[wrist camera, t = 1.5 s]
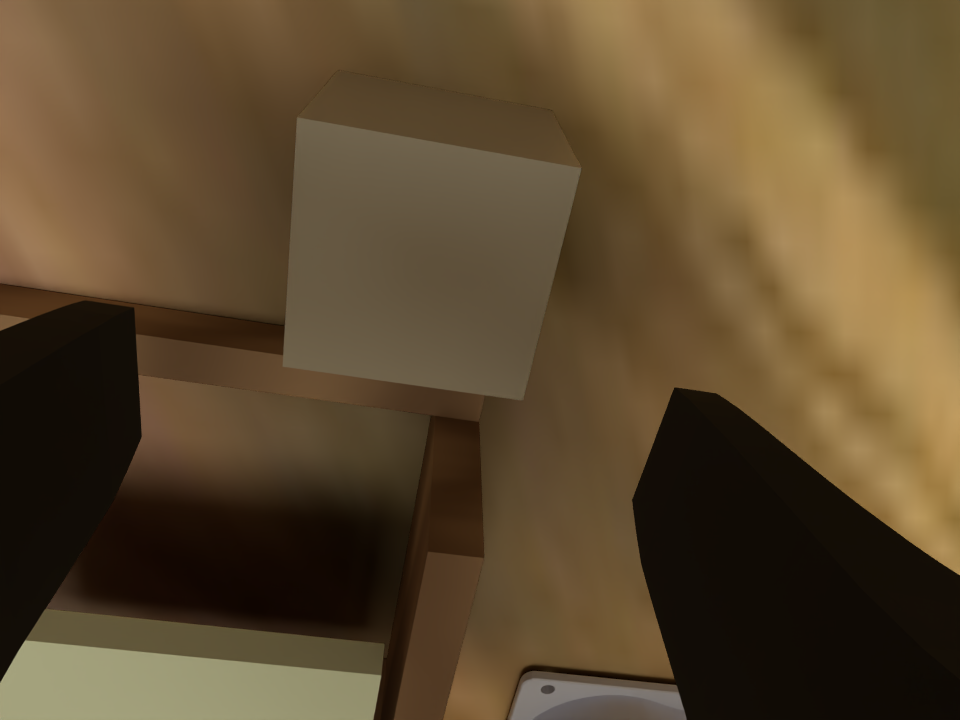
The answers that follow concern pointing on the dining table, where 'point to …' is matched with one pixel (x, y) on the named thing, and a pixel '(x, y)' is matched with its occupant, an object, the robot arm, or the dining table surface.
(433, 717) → the frame
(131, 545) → the dining table surface
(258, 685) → the flap
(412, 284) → the beige cube
